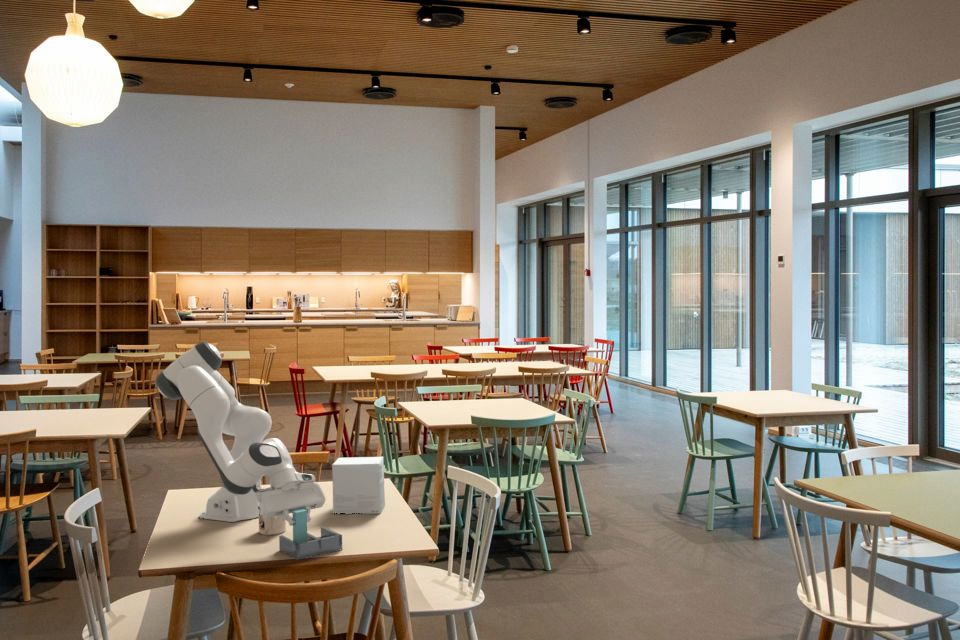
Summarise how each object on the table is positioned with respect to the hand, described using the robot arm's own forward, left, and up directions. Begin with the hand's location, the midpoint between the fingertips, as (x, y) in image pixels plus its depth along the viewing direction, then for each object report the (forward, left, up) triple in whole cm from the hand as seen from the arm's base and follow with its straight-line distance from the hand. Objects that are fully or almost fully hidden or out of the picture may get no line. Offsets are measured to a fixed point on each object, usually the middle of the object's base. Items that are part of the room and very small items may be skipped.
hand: (300, 522), depth 246 cm
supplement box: (0, +50, -9) cm, 51 cm away
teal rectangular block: (0, 0, -6) cm, 6 cm away
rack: (+2, +3, -9) cm, 10 cm away
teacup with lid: (-18, +18, -9) cm, 27 cm away
